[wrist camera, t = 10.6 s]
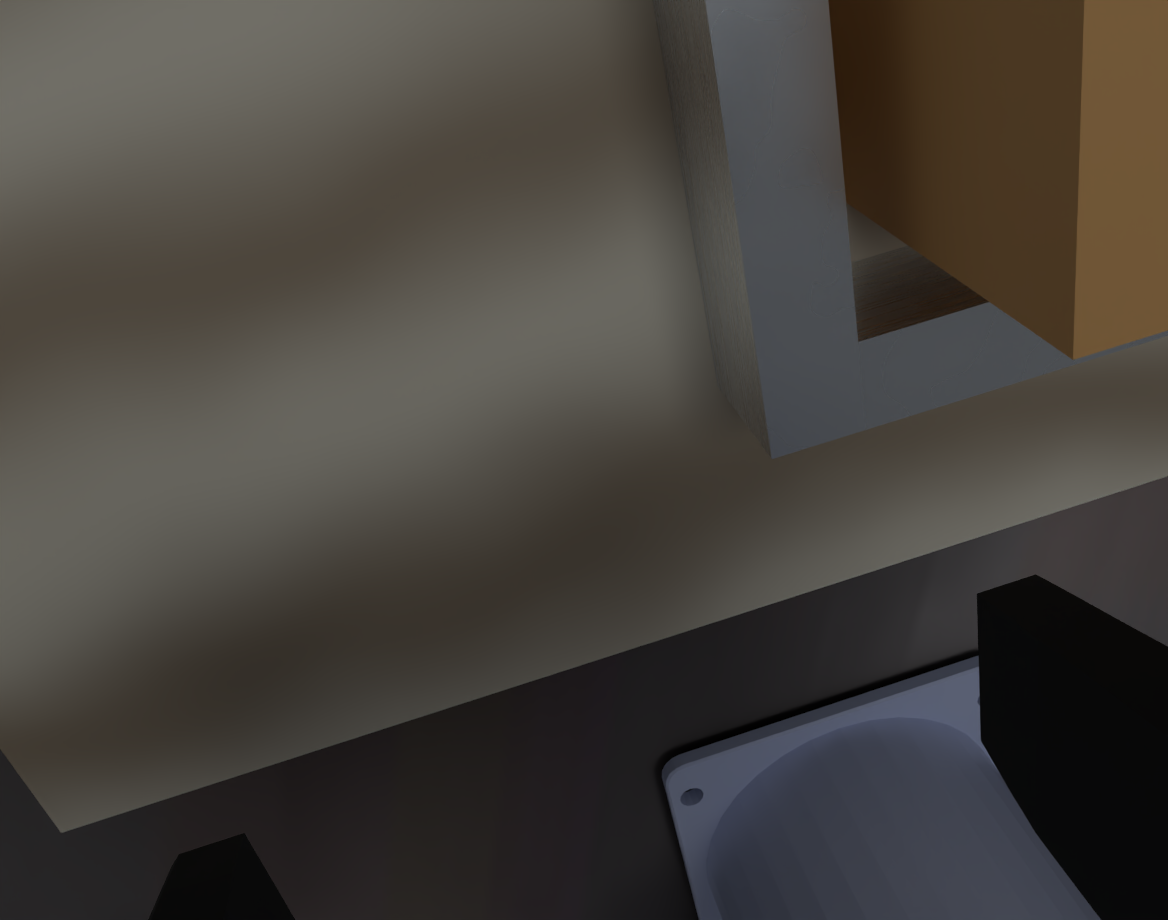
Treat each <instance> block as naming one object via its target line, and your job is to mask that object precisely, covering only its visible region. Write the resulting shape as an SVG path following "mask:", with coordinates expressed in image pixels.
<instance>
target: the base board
mask: <svg viewBox="0 0 1168 920" xmlns="http://www.w3.org/2000/svg"><path fill="white" fill-rule="evenodd" d="M828 3H829V1H828ZM829 15H830V13H829ZM830 26H831V24H830ZM831 37H832V35H831ZM832 49H833V47H832ZM833 60H834V58H833ZM834 72H835V70H834ZM835 83H836V81H835ZM836 94H837V92H836ZM837 106H838V104H837ZM838 117H839V115H838ZM839 129H840V127H839ZM840 140H841V138H840ZM841 152H842V149H841ZM842 163H843V161H842ZM843 174H844V172H843ZM844 186H845V184H844ZM845 197H846V195H845ZM846 209H847V220H848V231H849V243H850V254H851V262H855V261H858V260H861V259H865V258H868V257H871V256H875V255H878V254H881V253H885V252H888V251H891V250H895V249H898V248H901V247H905V246H908V245H907V244H905V243H904V242H902V241H901V240H899V239H898V238H896V237H895V236H894V235H892V234H891V233H889V232H888V231H886V230H885V229H883V228H882V227H881V226H879V225H878V224H876V223H875V222H873V221H872V220H871V219H869V218H868V217H866V216H865V215H863V214H862V213H860V212H859V211H858V210H856V209H855V208H853V207H852V206H850V205H849V204H847V203H846ZM1167 476H1168V336H1166V337H1162V338H1159V339H1156V340H1153V341H1150V342H1146V343H1143V344H1140V345H1137V346H1133V347H1130V348H1127V349H1124V350H1121V351H1117V352H1114V353H1111V354H1108V355H1105V356H1101V357H1098V358H1095V359H1092V360H1089V361H1085V362H1082V363H1079V364H1076V365H1073V366H1069V367H1066V368H1063V369H1060V370H1057V371H1053V372H1050V373H1047V374H1044V375H1040V376H1037V377H1034V378H1031V379H1028V380H1024V381H1021V382H1018V383H1015V384H1012V385H1008V386H1005V387H1002V388H999V389H996V390H992V391H989V392H986V393H983V394H980V395H976V396H973V397H970V398H967V399H963V400H960V401H957V402H954V403H951V404H947V405H944V406H941V407H938V408H935V409H931V410H928V411H925V412H922V413H919V414H915V415H912V416H909V417H906V418H903V419H899V420H896V421H893V422H890V423H887V424H883V425H880V426H877V427H874V428H870V429H867V430H864V431H861V432H858V433H854V434H851V435H848V436H845V437H842V438H838V439H835V440H832V441H829V442H826V443H822V444H819V445H816V446H813V447H810V448H806V449H803V450H800V451H797V452H793V453H790V454H787V455H784V456H781V457H777V458H774V459H771V458H770V456H769V455H768V454H767V452H766V451H765V450H764V448H763V447H762V445H761V444H760V443H759V441H758V440H757V439H756V437H755V436H754V435H753V433H752V432H751V431H750V429H749V428H748V427H747V425H746V424H745V423H744V421H743V420H742V418H741V417H740V416H739V414H738V413H737V412H736V410H735V409H734V408H733V406H732V405H731V404H730V402H729V401H728V400H727V398H726V397H725V396H724V394H723V393H722V391H721V390H720V389H719V387H718V385H717V379H716V373H715V367H714V361H713V355H712V349H711V344H710V338H709V332H708V326H707V320H706V314H705V308H704V302H703V296H702V290H701V285H700V279H699V273H698V267H697V261H696V255H695V249H694V243H693V237H692V231H691V226H690V220H689V214H688V208H687V202H686V196H685V190H684V184H683V178H682V173H681V167H680V161H679V155H678V149H677V143H676V137H675V131H674V125H673V119H672V114H671V108H670V102H669V96H668V90H667V84H666V78H665V72H664V66H663V60H662V55H661V49H660V43H659V37H658V31H657V25H656V19H655V13H654V7H653V1H652V0H0V749H1V751H2V752H3V753H4V755H5V756H6V758H7V759H8V760H9V762H10V763H11V764H12V766H13V767H14V769H15V770H16V771H17V773H18V774H19V775H20V777H21V778H22V780H23V781H24V782H25V784H26V785H27V786H28V788H29V789H30V791H31V792H32V793H33V795H34V796H35V797H36V799H37V800H38V802H39V803H40V804H41V806H42V807H43V808H44V810H45V811H46V813H47V814H48V815H49V817H50V818H51V819H52V821H53V822H54V824H55V825H56V826H57V828H58V829H59V831H60V832H61V833H62V832H66V831H69V830H72V829H75V828H78V827H81V826H84V825H87V824H90V823H93V822H97V821H100V820H103V819H106V818H109V817H112V816H115V815H118V814H121V813H124V812H128V811H131V810H134V809H137V808H140V807H143V806H146V805H149V804H152V803H155V802H159V801H162V800H165V799H168V798H171V797H174V796H177V795H180V794H183V793H186V792H190V791H193V790H196V789H199V788H202V787H205V786H208V785H211V784H214V783H217V782H221V781H224V780H227V779H230V778H233V777H236V776H239V775H242V774H245V773H249V772H252V771H255V770H258V769H261V768H264V767H267V766H270V765H273V764H276V763H280V762H283V761H286V760H289V759H292V758H295V757H298V756H301V755H304V754H307V753H311V752H314V751H317V750H320V749H323V748H326V747H329V746H332V745H335V744H338V743H342V742H345V741H348V740H351V739H354V738H357V737H360V736H363V735H366V734H369V733H373V732H376V731H379V730H382V729H385V728H388V727H391V726H394V725H397V724H400V723H404V722H407V721H410V720H413V719H416V718H419V717H422V716H425V715H428V714H431V713H435V712H438V711H441V710H444V709H447V708H450V707H453V706H456V705H459V704H463V703H466V702H469V701H472V700H475V699H478V698H481V697H484V696H487V695H490V694H494V693H497V692H500V691H503V690H506V689H509V688H512V687H515V686H518V685H521V684H525V683H528V682H531V681H534V680H537V679H540V678H543V677H546V676H549V675H552V674H556V673H559V672H562V671H565V670H568V669H571V668H574V667H577V666H580V665H583V664H587V663H590V662H593V661H596V660H599V659H602V658H605V657H608V656H611V655H614V654H618V653H621V652H624V651H627V650H630V649H633V648H636V647H639V646H642V645H645V644H649V643H652V642H655V641H658V640H661V639H664V638H667V637H670V636H673V635H677V634H680V633H683V632H686V631H689V630H692V629H695V628H698V627H701V626H704V625H708V624H711V623H714V622H717V621H720V620H723V619H726V618H729V617H732V616H735V615H739V614H742V613H745V612H748V611H751V610H754V609H757V608H760V607H763V606H766V605H770V604H773V603H776V602H779V601H782V600H785V599H788V598H791V597H794V596H797V595H801V594H804V593H807V592H810V591H813V590H816V589H819V588H822V587H825V586H828V585H832V584H835V583H838V582H841V581H844V580H847V579H850V578H853V577H856V576H859V575H863V574H866V573H869V572H872V571H875V570H878V569H881V568H884V567H887V566H891V565H894V564H897V563H900V562H903V561H906V560H909V559H912V558H915V557H918V556H922V555H925V554H928V553H931V552H934V551H937V550H940V549H943V548H946V547H949V546H953V545H956V544H959V543H962V542H965V541H968V540H971V539H974V538H977V537H980V536H984V535H987V534H990V533H993V532H996V531H999V530H1002V529H1005V528H1008V527H1011V526H1015V525H1018V524H1021V523H1024V522H1027V521H1030V520H1033V519H1036V518H1039V517H1042V516H1046V515H1049V514H1052V513H1055V512H1058V511H1061V510H1064V509H1067V508H1070V507H1074V506H1077V505H1080V504H1083V503H1086V502H1089V501H1092V500H1095V499H1098V498H1101V497H1105V496H1108V495H1111V494H1114V493H1117V492H1120V491H1123V490H1126V489H1129V488H1132V487H1136V486H1139V485H1142V484H1145V483H1148V482H1151V481H1154V480H1157V479H1160V478H1163V477H1167Z"/></svg>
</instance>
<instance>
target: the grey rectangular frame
mask: <svg viewBox="0 0 1168 920" xmlns="http://www.w3.org/2000/svg"><path fill="white" fill-rule="evenodd" d="M652 1H653V7H654V13H655V19H656V25H657V31H658V37H659V43H660V49H661V55H662V60H663V66H664V72H665V78H666V84H667V90H668V96H669V102H670V108H671V114H672V119H673V125H674V131H675V137H676V143H677V149H678V155H679V161H680V167H681V173H682V178H683V184H684V190H685V196H686V202H687V208H688V214H689V220H690V226H691V231H692V237H693V243H694V249H695V255H696V261H697V267H698V273H699V279H700V285H701V290H702V296H703V302H704V308H705V314H706V320H707V326H708V332H709V338H710V344H711V349H712V355H713V361H714V367H715V373H716V379H717V385H718V387H719V389H720V390H721V391H722V393H723V394H724V396H725V397H726V398H727V400H728V401H729V402H730V404H731V405H732V406H733V408H734V409H735V410H736V412H737V413H738V414H739V416H740V417H741V418H742V420H743V421H744V423H745V424H746V425H747V427H748V428H749V429H750V431H751V432H752V433H753V435H754V436H755V437H756V439H757V440H758V441H759V443H760V444H761V445H762V447H763V448H764V450H765V451H766V452H767V454H768V455H769V456H770V458H771V459H774V458H777V457H781V456H784V455H787V454H790V453H793V452H797V451H800V450H803V449H806V448H810V447H813V446H816V445H819V444H822V443H826V442H829V441H832V440H835V439H838V438H842V437H845V436H848V435H851V434H854V433H858V432H861V431H864V430H867V429H870V428H874V427H877V426H880V425H883V424H887V423H890V422H893V421H896V420H899V419H903V418H906V417H909V416H912V415H915V414H919V413H922V412H925V411H928V410H931V409H935V408H938V407H941V406H944V405H947V404H951V403H954V402H957V401H960V400H963V399H967V398H970V397H973V396H976V395H980V394H983V393H986V392H989V391H992V390H996V389H999V388H1002V387H1005V386H1008V385H1012V384H1015V383H1018V382H1021V381H1024V380H1028V379H1031V378H1034V377H1037V376H1040V375H1044V374H1047V373H1050V372H1053V371H1057V370H1060V369H1063V368H1066V367H1069V366H1073V365H1076V364H1079V363H1082V362H1085V361H1089V360H1092V359H1095V358H1098V357H1101V356H1105V355H1108V354H1111V353H1114V352H1117V351H1121V350H1124V349H1127V348H1130V347H1133V346H1137V345H1140V344H1143V343H1146V342H1150V341H1153V340H1156V339H1159V338H1162V337H1166V336H1168V331H1164V332H1161V333H1158V334H1155V335H1152V336H1148V337H1145V338H1142V339H1139V340H1136V341H1132V342H1129V343H1126V344H1123V345H1120V346H1116V347H1113V348H1110V349H1107V350H1103V351H1100V352H1097V353H1094V354H1091V355H1087V356H1084V357H1081V358H1078V359H1075V360H1072V359H1071V358H1069V357H1068V356H1067V355H1065V354H1064V353H1062V352H1061V351H1059V350H1058V349H1056V348H1055V347H1054V346H1052V345H1051V344H1049V343H1048V342H1046V341H1045V340H1043V339H1042V338H1041V337H1039V336H1038V335H1036V334H1035V333H1033V332H1032V331H1030V330H1029V329H1028V328H1026V327H1025V326H1023V325H1022V324H1020V323H1019V322H1018V321H1016V320H1015V319H1013V318H1012V317H1010V316H1009V315H1007V314H1006V313H1005V312H1003V311H1002V310H1000V309H999V308H997V307H996V306H994V305H993V304H992V303H990V302H989V301H987V300H986V299H984V298H983V297H981V296H980V295H979V294H977V293H976V292H974V291H973V290H971V289H970V288H969V287H967V286H966V285H964V284H963V283H961V282H960V281H958V280H957V279H956V278H954V277H953V276H951V275H950V274H948V273H947V272H945V271H944V270H943V269H941V268H940V267H938V266H937V265H935V264H934V263H932V262H931V261H930V260H928V259H927V258H925V257H924V256H922V255H921V254H920V253H918V252H917V251H915V250H914V249H912V248H911V247H909V246H905V247H901V248H898V249H895V250H891V251H888V252H885V253H881V254H878V255H875V256H871V257H868V258H865V259H861V260H858V261H855V262H851V254H850V243H849V231H848V220H847V209H846V197H845V186H844V174H843V163H842V152H841V140H840V129H839V117H838V106H837V94H836V83H835V72H834V60H833V49H832V37H831V26H830V15H829V3H828V0H652Z"/></svg>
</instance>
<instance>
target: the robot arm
mask: <svg viewBox="0 0 1168 920" xmlns="http://www.w3.org/2000/svg"><path fill="white" fill-rule="evenodd" d="M977 614H978V653H979V655H978V656H975V657H972V658H969V659H966V660H963V661H960V662H957V663H954V664H951V665H948V666H945V667H942V668H939V669H936V670H933V671H930V672H927V673H924V674H921V675H918V676H915V677H912V678H909V679H906V680H903V681H900V682H897V683H894V684H891V685H888V686H885V687H881V688H878V689H875V690H872V691H869V692H866V693H863V694H860V695H857V696H854V697H851V698H848V699H845V700H842V701H839V702H836V703H833V704H830V705H827V706H824V707H821V708H818V709H815V710H812V711H809V712H806V713H803V714H800V715H797V716H794V717H791V718H788V719H785V720H782V721H779V722H776V723H773V724H770V725H767V726H764V727H761V728H758V729H755V730H752V731H749V732H746V733H743V734H740V735H737V736H734V737H731V738H728V739H725V740H721V741H718V742H715V743H712V744H709V745H706V746H703V747H700V748H697V749H694V750H691V751H688V752H685V753H682V754H679V755H677V756H675V757H673V758H672V759H671V760H669V761H668V762H667V763H666V764H665V766H664V768H663V770H662V780H663V784H664V788H665V791H666V795H667V799H668V803H669V807H670V811H671V815H672V818H673V822H674V826H675V830H676V834H677V838H678V842H679V846H680V849H681V853H682V857H683V861H684V865H685V869H686V873H687V876H688V880H689V884H690V888H691V892H692V896H693V900H694V904H695V907H696V911H697V915H698V919H699V920H1168V647H1167V646H1165V645H1164V644H1162V643H1160V642H1158V641H1156V640H1154V639H1153V638H1151V637H1149V636H1147V635H1145V634H1143V633H1142V632H1140V631H1138V630H1136V629H1134V628H1132V627H1131V626H1129V625H1127V624H1125V623H1123V622H1121V621H1120V620H1118V619H1116V618H1114V617H1112V616H1111V615H1109V614H1107V613H1105V612H1103V611H1102V610H1100V609H1098V608H1096V607H1094V606H1093V605H1091V604H1089V603H1087V602H1085V601H1084V600H1082V599H1080V598H1078V597H1076V596H1075V595H1073V594H1071V593H1069V592H1067V591H1065V590H1064V589H1062V588H1060V587H1058V586H1056V585H1054V584H1052V583H1051V582H1049V581H1047V580H1045V579H1043V578H1041V577H1039V576H1037V575H1033V576H1030V577H1027V578H1024V579H1021V580H1018V581H1015V582H1011V583H1008V584H1005V585H1002V586H999V587H996V588H993V589H990V590H987V591H984V592H981V593H978V594H977ZM693 788H694V789H693ZM689 789H692V790H690V791H688V792H685V791H687V790H689ZM148 920H295V919H294V917H293V915H292V914H291V912H290V910H289V909H288V907H287V905H286V903H285V902H284V900H283V898H282V897H281V895H280V893H279V892H278V890H277V888H276V886H275V885H274V883H273V881H272V880H271V878H270V876H269V875H268V873H267V871H266V869H265V868H264V866H263V864H262V863H261V861H260V859H259V857H258V856H257V854H256V852H255V851H254V849H253V847H252V846H251V844H250V842H249V840H248V839H247V837H246V835H245V834H244V833H243V834H240V835H237V836H234V837H231V838H228V839H225V840H222V841H219V842H216V843H213V844H209V845H206V846H203V847H200V848H197V849H194V850H191V851H188V852H185V853H182V854H179V855H178V857H177V859H176V860H175V862H174V864H173V865H172V867H171V869H170V872H169V874H168V876H167V878H166V881H165V883H164V885H163V887H162V890H161V892H160V894H159V897H158V899H157V901H156V903H155V906H154V908H153V910H152V913H151V915H150V917H149V919H148Z"/></svg>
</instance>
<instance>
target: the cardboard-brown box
mask: <svg viewBox="0 0 1168 920" xmlns="http://www.w3.org/2000/svg"><path fill="white" fill-rule="evenodd" d="M828 1H829V13H830V24H831V35H832V47H833V58H834V70H835V81H836V92H837V104H838V115H839V127H840V138H841V149H842V161H843V172H844V184H845V195H846V203H847V204H849V205H850V206H852V207H853V208H855V209H856V210H858V211H859V212H860V213H862V214H863V215H865V216H866V217H868V218H869V219H871V220H872V221H873V222H875V223H876V224H878V225H879V226H881V227H882V228H883V229H885V230H886V231H888V232H889V233H891V234H892V235H894V236H895V237H896V238H898V239H899V240H901V241H902V242H904V243H905V244H907V245H908V246H909V247H911V248H912V249H914V250H915V251H917V252H918V253H920V254H921V255H922V256H924V257H925V258H927V259H928V260H930V261H931V262H932V263H934V264H935V265H937V266H938V267H940V268H941V269H943V270H944V271H945V272H947V273H948V274H950V275H951V276H953V277H954V278H956V279H957V280H958V281H960V282H961V283H963V284H964V285H966V286H967V287H969V288H970V289H971V290H973V291H974V292H976V293H977V294H979V295H980V296H981V297H983V298H984V299H986V300H987V301H989V302H990V303H992V304H993V305H994V306H996V307H997V308H999V309H1000V310H1002V311H1003V312H1005V313H1006V314H1007V315H1009V316H1010V317H1012V318H1013V319H1015V320H1016V321H1018V322H1019V323H1020V324H1022V325H1023V326H1025V327H1026V328H1028V329H1029V330H1030V331H1032V332H1033V333H1035V334H1036V335H1038V336H1039V337H1041V338H1042V339H1043V340H1045V341H1046V342H1048V343H1049V344H1051V345H1052V346H1054V347H1055V348H1056V349H1058V350H1059V351H1061V352H1062V353H1064V354H1065V355H1067V356H1068V357H1069V358H1071V359H1072V360H1075V359H1078V358H1081V357H1084V356H1087V355H1091V354H1094V353H1097V352H1100V351H1103V350H1107V349H1110V348H1113V347H1116V346H1120V345H1123V344H1126V343H1129V342H1132V341H1136V340H1139V339H1142V338H1145V337H1148V336H1152V335H1155V334H1158V333H1161V332H1164V331H1168V0H828Z"/></svg>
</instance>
